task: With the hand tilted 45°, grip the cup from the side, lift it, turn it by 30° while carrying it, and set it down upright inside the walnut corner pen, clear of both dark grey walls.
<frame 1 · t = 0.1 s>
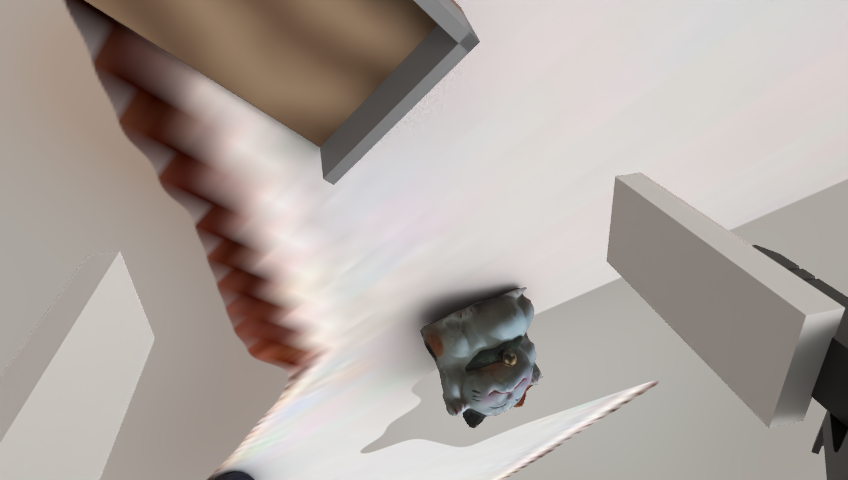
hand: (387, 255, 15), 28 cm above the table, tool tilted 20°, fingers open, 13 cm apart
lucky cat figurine: (477, 312, 67), on the table
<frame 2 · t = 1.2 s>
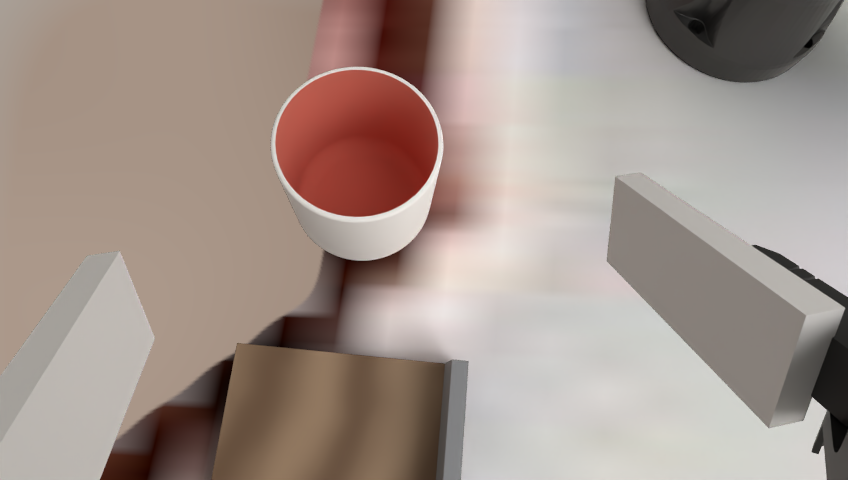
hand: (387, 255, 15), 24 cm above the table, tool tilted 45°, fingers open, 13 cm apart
cup: (363, 201, 41), on the table
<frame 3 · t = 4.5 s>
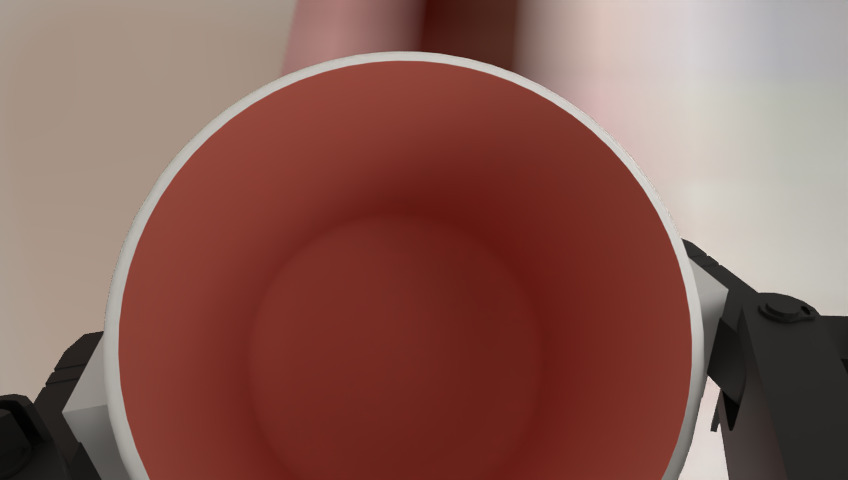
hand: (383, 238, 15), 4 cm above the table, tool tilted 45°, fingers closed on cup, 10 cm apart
cup: (396, 356, 19), on the table, touching gripper
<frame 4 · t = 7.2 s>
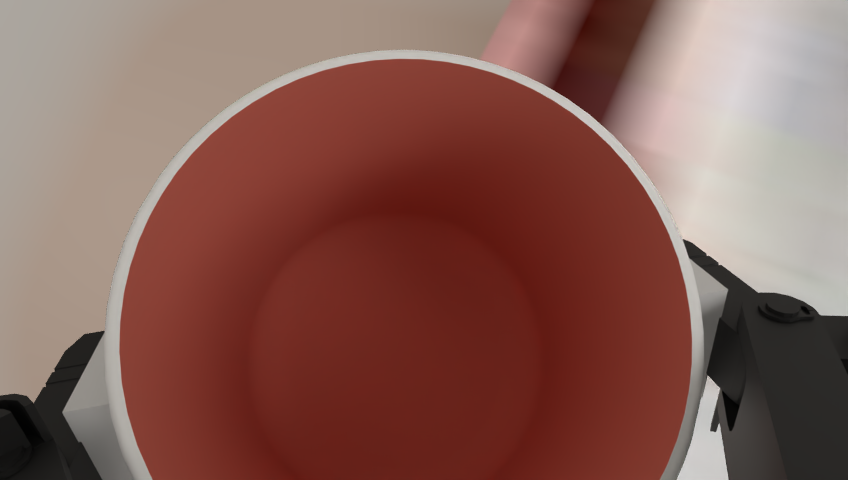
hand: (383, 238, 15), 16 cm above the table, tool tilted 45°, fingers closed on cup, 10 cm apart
cup: (397, 355, 19), point 12 cm above the table, touching gripper
when the fingers open (7 cm above the table, at t = 10.1 s): cup drops 1 cm, resting on pen base.
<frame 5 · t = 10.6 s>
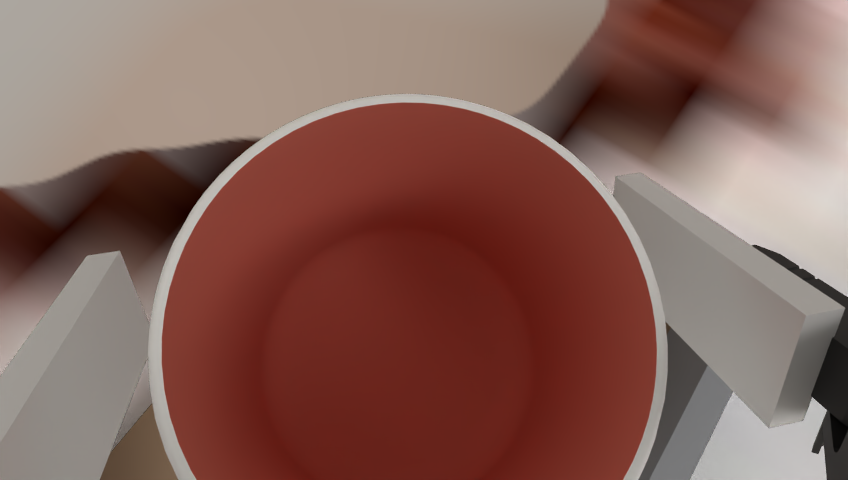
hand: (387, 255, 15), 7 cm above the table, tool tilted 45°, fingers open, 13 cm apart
pen walls: (395, 430, 20), resting on pen base
cup: (398, 360, 20), point 1 cm above the table, touching pen base
pen base: (395, 430, 20), on the table
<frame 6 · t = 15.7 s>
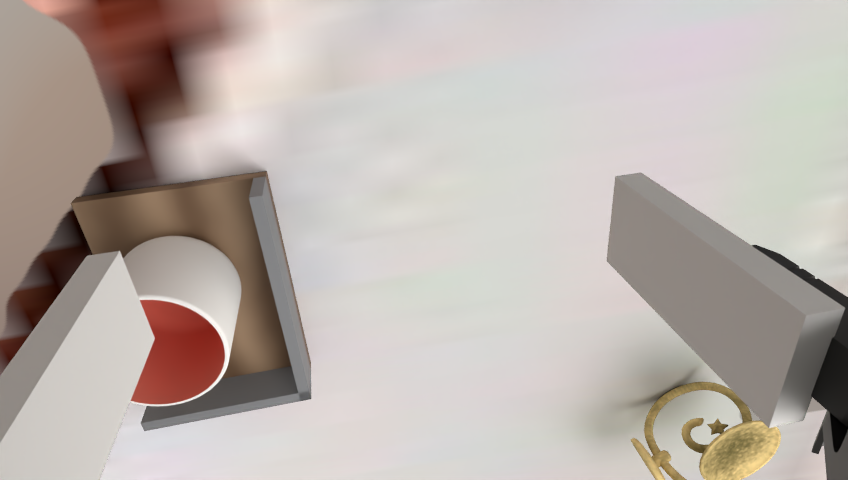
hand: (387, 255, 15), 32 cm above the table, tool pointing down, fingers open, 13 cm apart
pen walls: (207, 290, 49), resting on pen base
wall sconce: (665, 393, 69), on the table
cup: (183, 279, 47), point 1 cm above the table, touching pen base
pen base: (207, 290, 49), on the table
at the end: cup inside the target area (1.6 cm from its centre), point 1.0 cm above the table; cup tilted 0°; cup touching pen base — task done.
